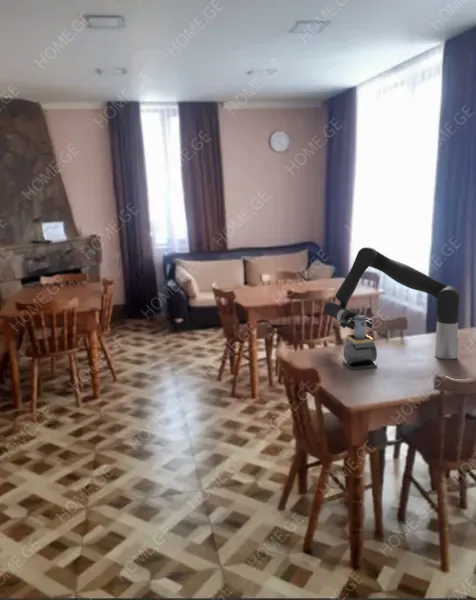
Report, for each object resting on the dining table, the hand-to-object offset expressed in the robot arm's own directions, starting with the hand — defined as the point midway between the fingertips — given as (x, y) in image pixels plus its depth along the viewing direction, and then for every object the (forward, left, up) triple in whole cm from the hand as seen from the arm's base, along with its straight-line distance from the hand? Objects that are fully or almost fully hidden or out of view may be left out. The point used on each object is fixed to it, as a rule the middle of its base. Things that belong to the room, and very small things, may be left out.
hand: (362, 326), depth 225 cm
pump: (+1, -2, -7) cm, 7 cm away
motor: (+1, -2, -19) cm, 19 cm away
